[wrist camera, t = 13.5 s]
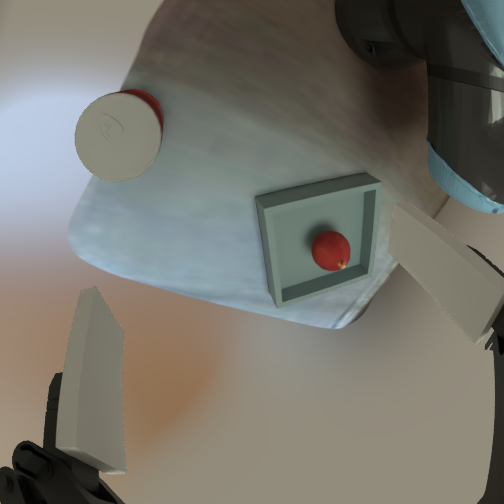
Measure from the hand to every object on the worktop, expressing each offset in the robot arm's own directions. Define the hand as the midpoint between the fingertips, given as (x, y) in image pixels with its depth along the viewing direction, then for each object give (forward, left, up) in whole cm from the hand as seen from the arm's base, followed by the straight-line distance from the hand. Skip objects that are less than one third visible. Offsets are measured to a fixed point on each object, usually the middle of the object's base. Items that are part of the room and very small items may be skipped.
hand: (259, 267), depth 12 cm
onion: (-15, +19, -26) cm, 35 cm away
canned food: (+7, -4, -27) cm, 28 cm away
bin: (-15, +19, -27) cm, 36 cm away
